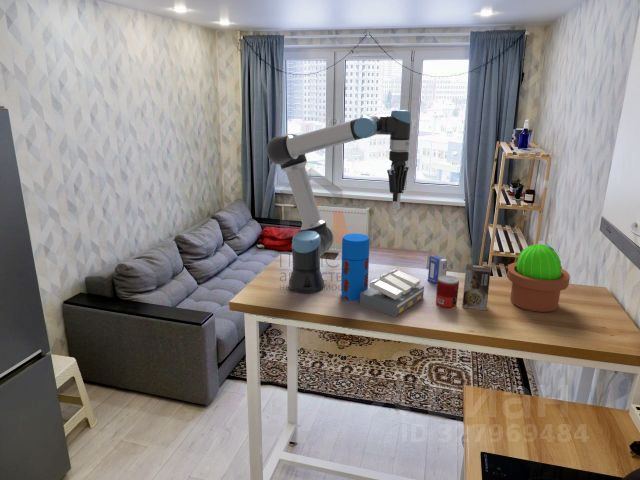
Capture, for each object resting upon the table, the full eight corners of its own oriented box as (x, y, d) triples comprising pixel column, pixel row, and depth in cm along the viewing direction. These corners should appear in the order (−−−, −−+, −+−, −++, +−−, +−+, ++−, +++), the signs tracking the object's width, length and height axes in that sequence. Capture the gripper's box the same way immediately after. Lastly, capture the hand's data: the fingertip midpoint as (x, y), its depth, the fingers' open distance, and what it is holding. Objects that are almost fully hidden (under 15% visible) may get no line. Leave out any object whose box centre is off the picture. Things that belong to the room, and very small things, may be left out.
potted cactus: (504, 310, 179) (512, 248, 171) (503, 288, 198) (511, 232, 191) (567, 319, 172) (579, 255, 164) (560, 296, 191) (570, 238, 184)
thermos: (335, 295, 191) (336, 237, 184) (352, 287, 199) (353, 231, 191) (356, 303, 184) (358, 243, 177) (372, 295, 192) (375, 237, 184)
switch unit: (359, 304, 183) (360, 289, 181) (389, 287, 199) (390, 273, 197) (395, 316, 173) (396, 300, 171) (423, 297, 189) (424, 282, 187)
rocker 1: (369, 286, 180) (370, 281, 179) (375, 283, 183) (376, 277, 182) (395, 299, 173) (396, 294, 172) (401, 295, 177) (402, 290, 176)
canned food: (457, 309, 179) (459, 283, 175) (435, 307, 180) (438, 281, 177) (455, 301, 186) (458, 276, 183) (435, 299, 187) (437, 274, 184)
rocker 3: (388, 276, 190) (389, 271, 189) (394, 273, 193) (395, 268, 193) (413, 287, 184) (415, 282, 183) (419, 284, 187) (420, 279, 186)
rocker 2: (379, 279, 185) (380, 274, 184) (385, 276, 188) (386, 271, 187) (404, 294, 179) (406, 289, 178) (410, 291, 182) (411, 286, 181)
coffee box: (486, 304, 184) (491, 266, 179) (486, 311, 178) (491, 271, 173) (462, 301, 186) (466, 263, 182) (461, 307, 181) (465, 269, 176)
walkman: (427, 280, 207) (429, 255, 203) (432, 279, 208) (434, 254, 204) (440, 286, 200) (443, 260, 197) (445, 285, 202) (447, 259, 198)
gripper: (398, 152, 176) (395, 213, 183) (415, 149, 185) (412, 207, 193) (382, 151, 180) (379, 210, 188) (399, 148, 190) (396, 204, 197)
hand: (396, 208), depth 190 cm, fingers closed
